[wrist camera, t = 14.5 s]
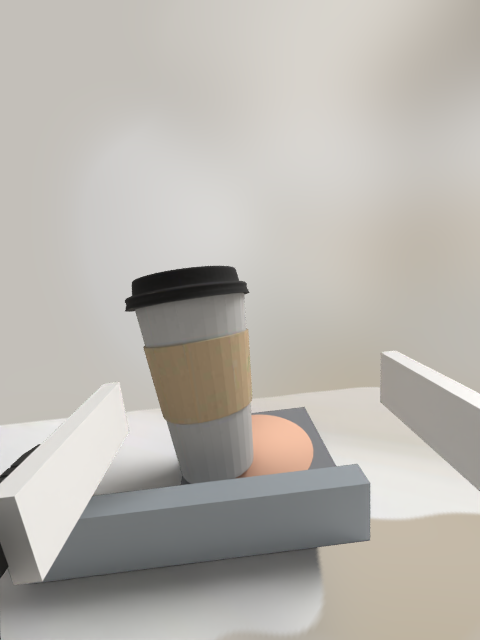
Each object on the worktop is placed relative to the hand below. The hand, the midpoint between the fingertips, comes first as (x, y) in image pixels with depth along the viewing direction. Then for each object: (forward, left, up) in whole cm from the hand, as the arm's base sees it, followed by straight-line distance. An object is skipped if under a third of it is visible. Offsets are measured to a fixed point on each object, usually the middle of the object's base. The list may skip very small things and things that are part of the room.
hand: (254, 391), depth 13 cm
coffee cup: (-3, +6, -9) cm, 12 cm away
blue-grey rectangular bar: (-4, +1, -10) cm, 11 cm away
